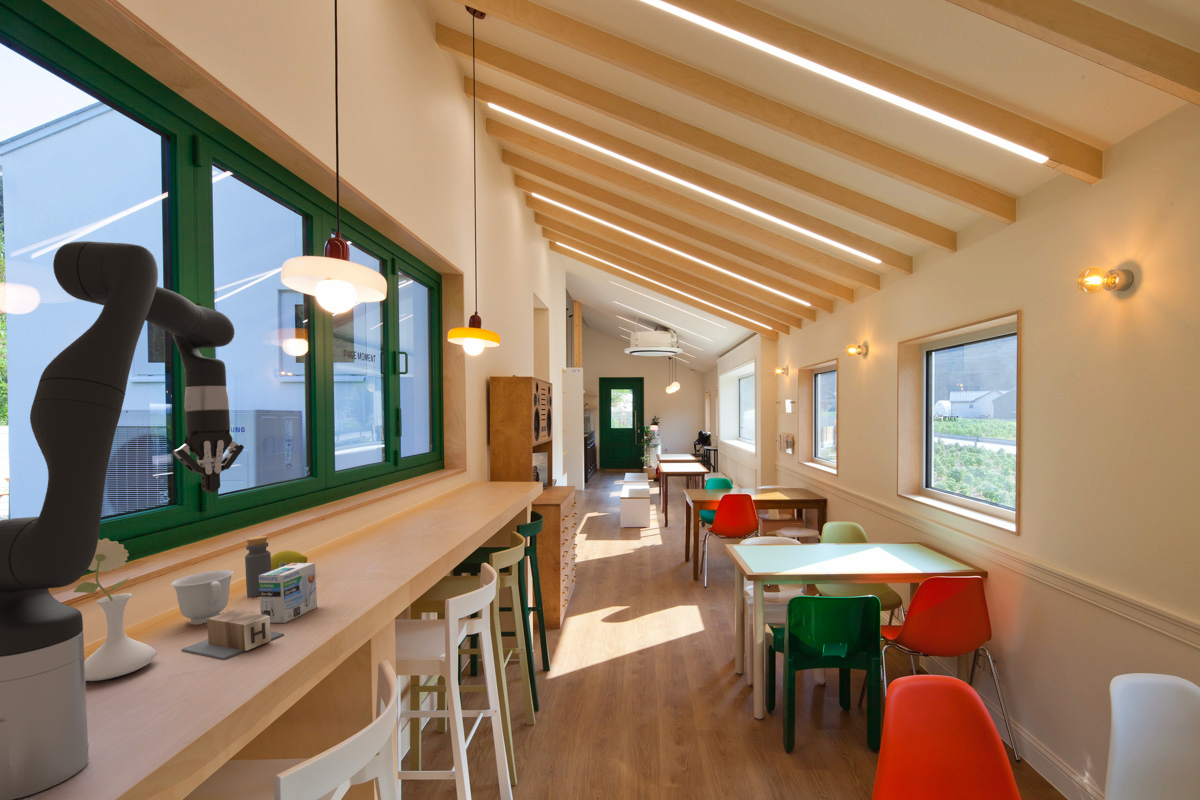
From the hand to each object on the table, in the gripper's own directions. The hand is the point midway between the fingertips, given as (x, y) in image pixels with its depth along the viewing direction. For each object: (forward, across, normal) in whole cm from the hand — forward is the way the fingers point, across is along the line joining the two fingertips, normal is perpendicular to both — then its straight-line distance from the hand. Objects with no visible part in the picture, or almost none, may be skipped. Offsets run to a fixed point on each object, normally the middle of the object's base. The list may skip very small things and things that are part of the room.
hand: (211, 492), depth 116 cm
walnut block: (+28, +2, -12) cm, 30 cm away
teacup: (+31, +6, +18) cm, 37 cm away
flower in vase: (+31, -16, +4) cm, 35 cm away
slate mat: (+31, +1, -4) cm, 31 cm away
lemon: (+31, +35, +36) cm, 59 cm away
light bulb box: (+31, +16, +2) cm, 35 cm away
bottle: (+31, +23, +28) cm, 48 cm away
